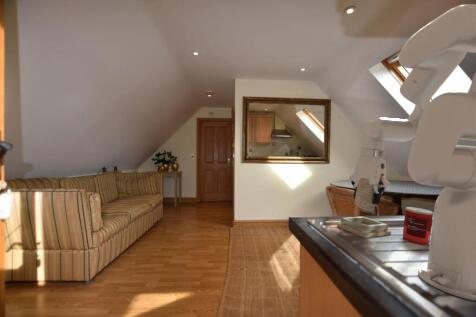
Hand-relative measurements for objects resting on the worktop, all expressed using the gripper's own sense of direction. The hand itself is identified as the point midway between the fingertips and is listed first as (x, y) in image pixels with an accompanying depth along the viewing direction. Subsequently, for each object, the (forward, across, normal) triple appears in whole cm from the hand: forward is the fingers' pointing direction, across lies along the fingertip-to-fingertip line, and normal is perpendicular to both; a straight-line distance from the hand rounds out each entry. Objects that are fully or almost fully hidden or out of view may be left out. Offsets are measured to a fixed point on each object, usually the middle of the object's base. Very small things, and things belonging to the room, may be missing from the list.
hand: (366, 200), depth 90 cm
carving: (+3, 0, 0) cm, 3 cm away
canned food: (+11, -13, -10) cm, 20 cm away
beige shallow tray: (+11, 0, 0) cm, 11 cm away
